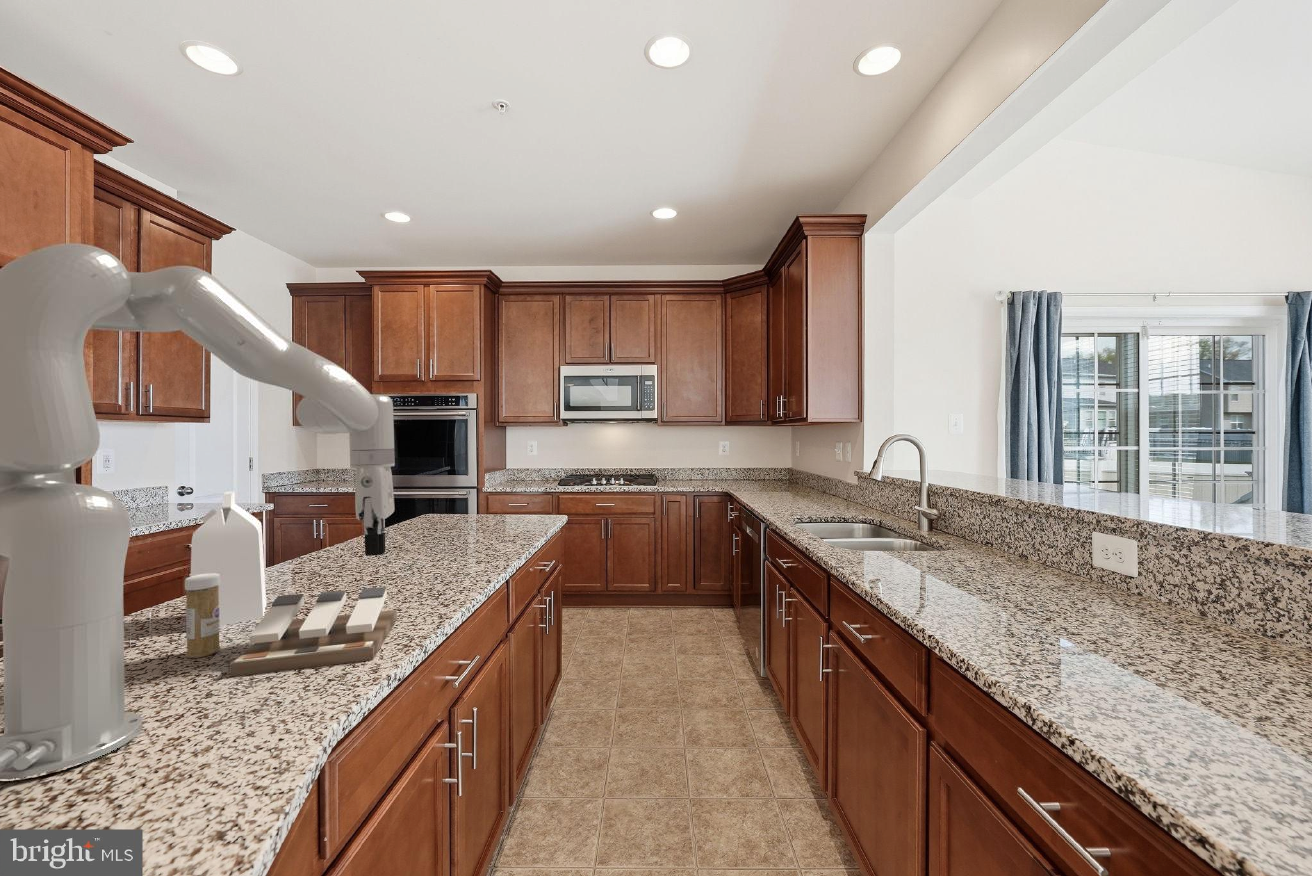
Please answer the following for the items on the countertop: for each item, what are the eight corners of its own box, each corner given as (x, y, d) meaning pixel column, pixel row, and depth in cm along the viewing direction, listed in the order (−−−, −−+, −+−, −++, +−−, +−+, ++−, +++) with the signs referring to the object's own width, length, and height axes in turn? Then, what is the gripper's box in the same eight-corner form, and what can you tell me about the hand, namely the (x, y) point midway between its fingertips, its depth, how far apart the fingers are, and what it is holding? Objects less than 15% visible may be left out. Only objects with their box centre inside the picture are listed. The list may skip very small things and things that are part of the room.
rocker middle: (326, 635, 88) (325, 625, 88) (299, 638, 87) (298, 628, 87) (346, 598, 100) (345, 589, 99) (322, 600, 99) (321, 591, 98)
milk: (263, 619, 107) (261, 493, 107) (188, 631, 100) (187, 497, 100) (266, 604, 117) (265, 488, 117) (198, 614, 110) (197, 492, 110)
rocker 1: (278, 640, 86) (277, 630, 86) (250, 643, 85) (249, 633, 85) (304, 602, 98) (303, 593, 97) (279, 604, 97) (278, 595, 96)
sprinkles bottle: (218, 654, 89) (217, 576, 89) (183, 661, 87) (182, 580, 87) (222, 645, 93) (221, 570, 93) (188, 652, 91) (187, 574, 91)
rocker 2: (372, 631, 90) (371, 621, 90) (346, 633, 89) (345, 624, 89) (386, 595, 102) (386, 586, 101) (364, 597, 100) (363, 588, 100)
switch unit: (372, 659, 86) (372, 635, 86) (230, 676, 81) (229, 650, 81) (396, 619, 106) (396, 600, 106) (282, 630, 100) (282, 610, 100)
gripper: (385, 460, 94) (388, 562, 94) (401, 456, 108) (404, 544, 108) (338, 462, 91) (341, 565, 92) (361, 457, 106) (363, 547, 106)
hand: (375, 554), depth 100 cm, fingers closed
